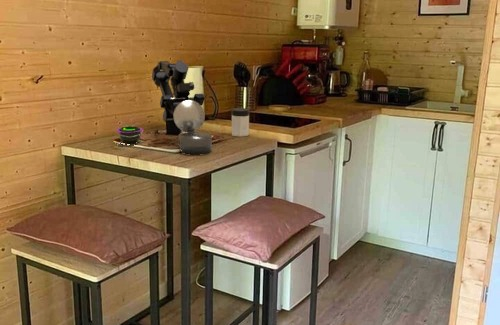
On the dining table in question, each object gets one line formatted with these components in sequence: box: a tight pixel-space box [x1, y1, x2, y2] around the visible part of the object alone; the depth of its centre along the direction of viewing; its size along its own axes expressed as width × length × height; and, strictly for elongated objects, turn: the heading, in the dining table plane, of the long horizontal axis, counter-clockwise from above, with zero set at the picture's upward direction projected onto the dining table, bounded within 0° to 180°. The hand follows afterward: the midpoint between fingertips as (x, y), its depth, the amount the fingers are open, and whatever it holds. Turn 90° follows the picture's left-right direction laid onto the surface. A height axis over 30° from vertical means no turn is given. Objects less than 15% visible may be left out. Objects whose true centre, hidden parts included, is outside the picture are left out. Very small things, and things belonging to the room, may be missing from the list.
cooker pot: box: [178, 131, 213, 156], centre depth 204 cm, size 14×13×6 cm
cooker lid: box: [173, 100, 206, 133], centre depth 209 cm, size 13×13×3 cm
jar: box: [231, 107, 250, 138], centre depth 234 cm, size 9×8×12 cm
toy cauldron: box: [115, 119, 145, 147], centre depth 210 cm, size 15×15×11 cm
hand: (186, 116), depth 212 cm, fingers open, 9 cm apart
